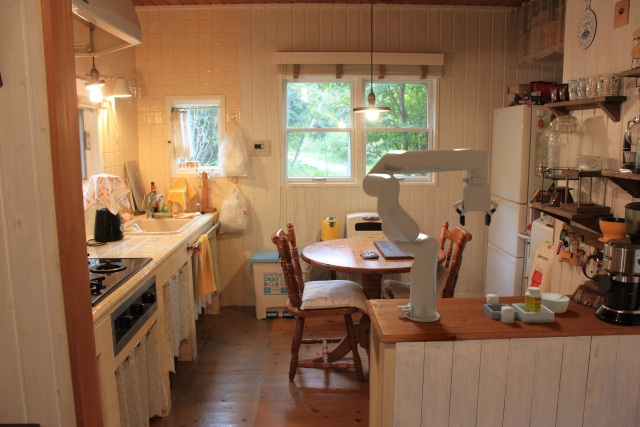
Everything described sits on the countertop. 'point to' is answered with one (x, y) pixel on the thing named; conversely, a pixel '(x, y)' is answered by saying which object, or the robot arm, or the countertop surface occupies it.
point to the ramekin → (555, 302)
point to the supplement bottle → (533, 300)
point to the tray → (533, 314)
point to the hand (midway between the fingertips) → (475, 225)
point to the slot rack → (499, 309)
